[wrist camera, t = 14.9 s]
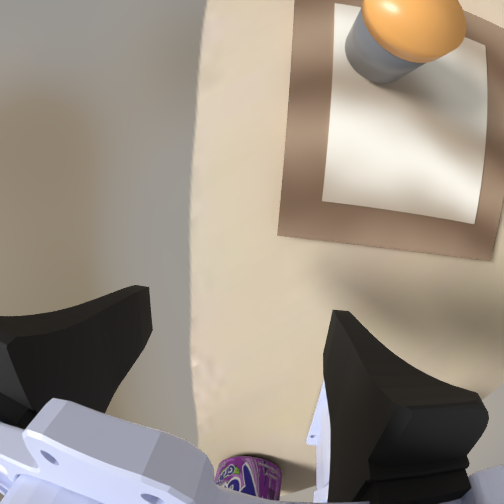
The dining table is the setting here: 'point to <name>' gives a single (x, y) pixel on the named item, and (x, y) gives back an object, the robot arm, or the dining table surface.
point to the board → (393, 142)
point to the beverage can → (250, 476)
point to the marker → (402, 36)
